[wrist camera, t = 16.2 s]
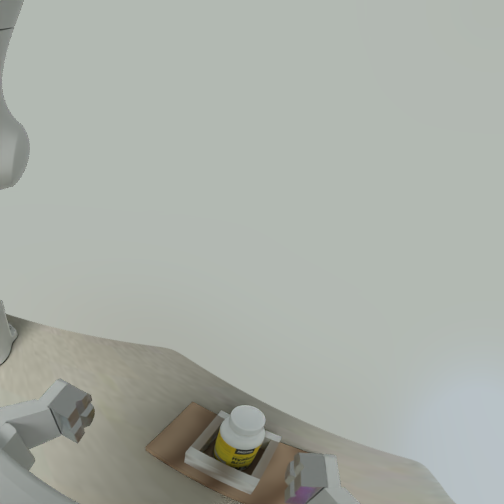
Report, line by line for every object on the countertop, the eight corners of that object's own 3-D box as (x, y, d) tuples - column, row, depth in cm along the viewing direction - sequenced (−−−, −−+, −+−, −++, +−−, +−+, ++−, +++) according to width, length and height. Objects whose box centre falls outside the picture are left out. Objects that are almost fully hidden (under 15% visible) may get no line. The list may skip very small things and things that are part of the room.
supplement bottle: (225, 478, 26) (240, 441, 23) (205, 448, 30) (214, 406, 27) (260, 464, 29) (281, 424, 26) (238, 437, 33) (254, 395, 31)
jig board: (145, 450, 28) (144, 435, 27) (192, 405, 39) (194, 389, 38) (298, 522, 21) (310, 513, 20) (321, 460, 32) (331, 446, 30)
